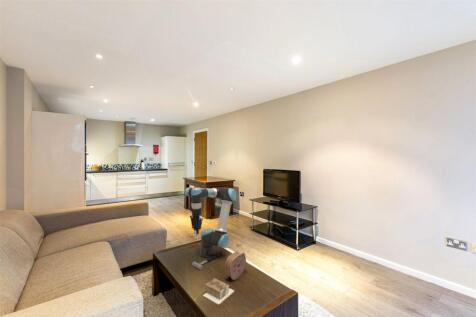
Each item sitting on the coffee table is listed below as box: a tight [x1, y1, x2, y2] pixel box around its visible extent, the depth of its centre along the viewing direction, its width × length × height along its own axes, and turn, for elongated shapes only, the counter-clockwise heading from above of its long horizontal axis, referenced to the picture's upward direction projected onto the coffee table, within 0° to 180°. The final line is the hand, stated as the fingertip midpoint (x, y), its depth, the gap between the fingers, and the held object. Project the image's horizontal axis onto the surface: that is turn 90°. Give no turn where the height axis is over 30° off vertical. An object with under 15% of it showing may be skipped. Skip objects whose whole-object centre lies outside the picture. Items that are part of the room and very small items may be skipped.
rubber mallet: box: [191, 251, 223, 271], centre depth 184 cm, size 10×4×30 cm
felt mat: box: [202, 288, 235, 306], centre depth 140 cm, size 16×14×1 cm
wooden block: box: [205, 277, 230, 299], centre depth 141 cm, size 9×5×13 cm
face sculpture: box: [224, 251, 247, 281], centre depth 161 cm, size 20×7×17 cm, turn 144°
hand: (196, 237), depth 161 cm, fingers closed
